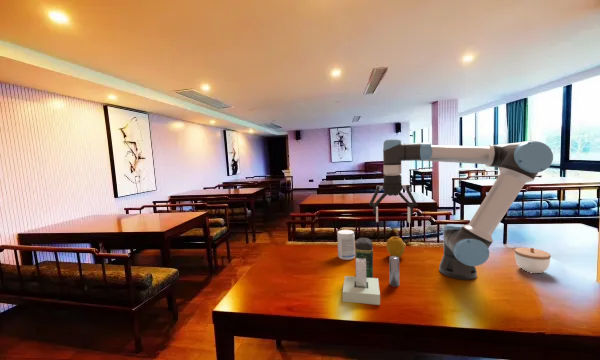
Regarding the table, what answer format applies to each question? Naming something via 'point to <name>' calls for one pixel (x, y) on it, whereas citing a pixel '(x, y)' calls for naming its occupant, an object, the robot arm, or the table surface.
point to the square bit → (360, 273)
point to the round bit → (394, 271)
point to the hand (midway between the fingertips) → (392, 221)
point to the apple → (395, 246)
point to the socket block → (361, 291)
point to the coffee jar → (365, 254)
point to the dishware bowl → (532, 259)
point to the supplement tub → (346, 244)
